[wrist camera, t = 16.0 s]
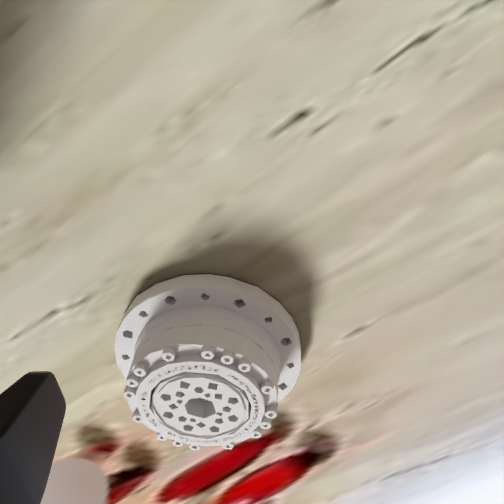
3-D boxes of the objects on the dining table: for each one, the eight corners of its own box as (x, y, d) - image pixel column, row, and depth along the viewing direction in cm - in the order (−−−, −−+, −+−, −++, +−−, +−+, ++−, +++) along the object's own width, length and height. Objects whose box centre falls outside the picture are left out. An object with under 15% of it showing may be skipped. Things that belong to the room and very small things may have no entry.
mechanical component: (333, 310, 25) (151, 241, 23) (343, 376, 21) (127, 300, 19) (256, 419, 30) (102, 370, 28) (253, 486, 26) (76, 435, 24)
